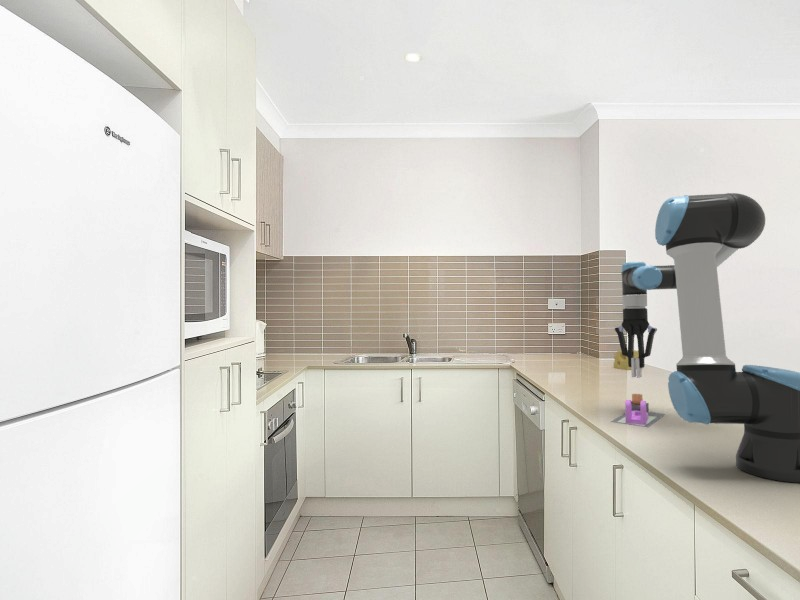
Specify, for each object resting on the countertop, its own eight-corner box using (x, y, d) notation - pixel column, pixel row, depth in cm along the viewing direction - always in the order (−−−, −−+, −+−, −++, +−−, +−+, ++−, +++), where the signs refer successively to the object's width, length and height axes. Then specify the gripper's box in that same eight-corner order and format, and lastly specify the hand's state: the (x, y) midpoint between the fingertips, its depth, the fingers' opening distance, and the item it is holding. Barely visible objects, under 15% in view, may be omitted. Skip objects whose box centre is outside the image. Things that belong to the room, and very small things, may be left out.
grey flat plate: (648, 428, 145) (648, 426, 145) (610, 423, 153) (610, 421, 153) (666, 415, 161) (666, 413, 161) (631, 410, 168) (630, 409, 168)
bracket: (645, 425, 147) (645, 402, 147) (625, 423, 150) (625, 400, 150) (648, 415, 158) (648, 394, 158) (630, 414, 161) (629, 393, 161)
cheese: (613, 368, 268) (613, 350, 268) (629, 366, 271) (628, 348, 271) (627, 370, 258) (627, 351, 258) (643, 369, 261) (643, 350, 261)
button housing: (644, 414, 160) (643, 405, 160) (626, 412, 164) (626, 403, 164) (648, 411, 164) (648, 403, 164) (631, 409, 168) (631, 401, 168)
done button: (641, 407, 162) (640, 395, 162) (631, 406, 164) (630, 394, 164) (643, 406, 164) (643, 394, 164) (633, 404, 166) (633, 393, 166)
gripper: (660, 307, 162) (662, 377, 162) (617, 307, 171) (618, 373, 171) (654, 307, 157) (656, 380, 157) (609, 308, 166) (611, 376, 166)
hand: (636, 376), depth 164 cm, fingers closed
